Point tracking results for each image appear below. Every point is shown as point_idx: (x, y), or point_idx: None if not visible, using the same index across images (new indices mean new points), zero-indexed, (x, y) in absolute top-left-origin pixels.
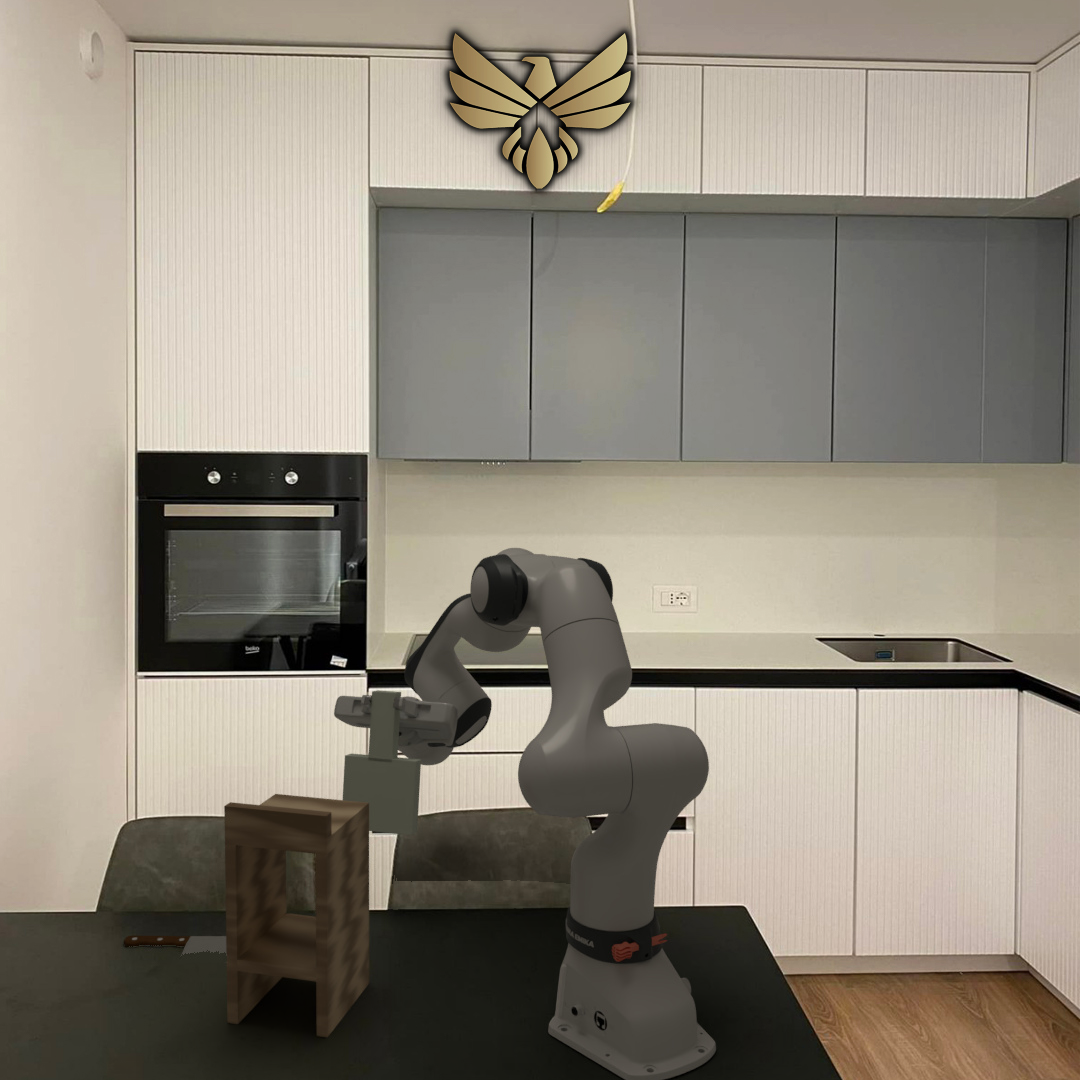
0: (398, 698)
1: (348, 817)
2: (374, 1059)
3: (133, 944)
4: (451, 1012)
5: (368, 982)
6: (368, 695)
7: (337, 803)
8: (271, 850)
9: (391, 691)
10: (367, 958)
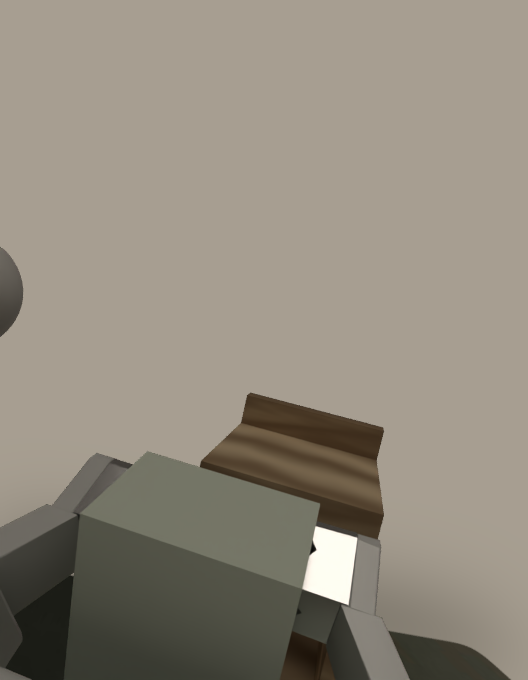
0: (126, 463)
1: (228, 441)
2: None
3: None
4: (32, 662)
5: None
6: (335, 527)
7: (255, 469)
8: None
9: (168, 529)
10: None
